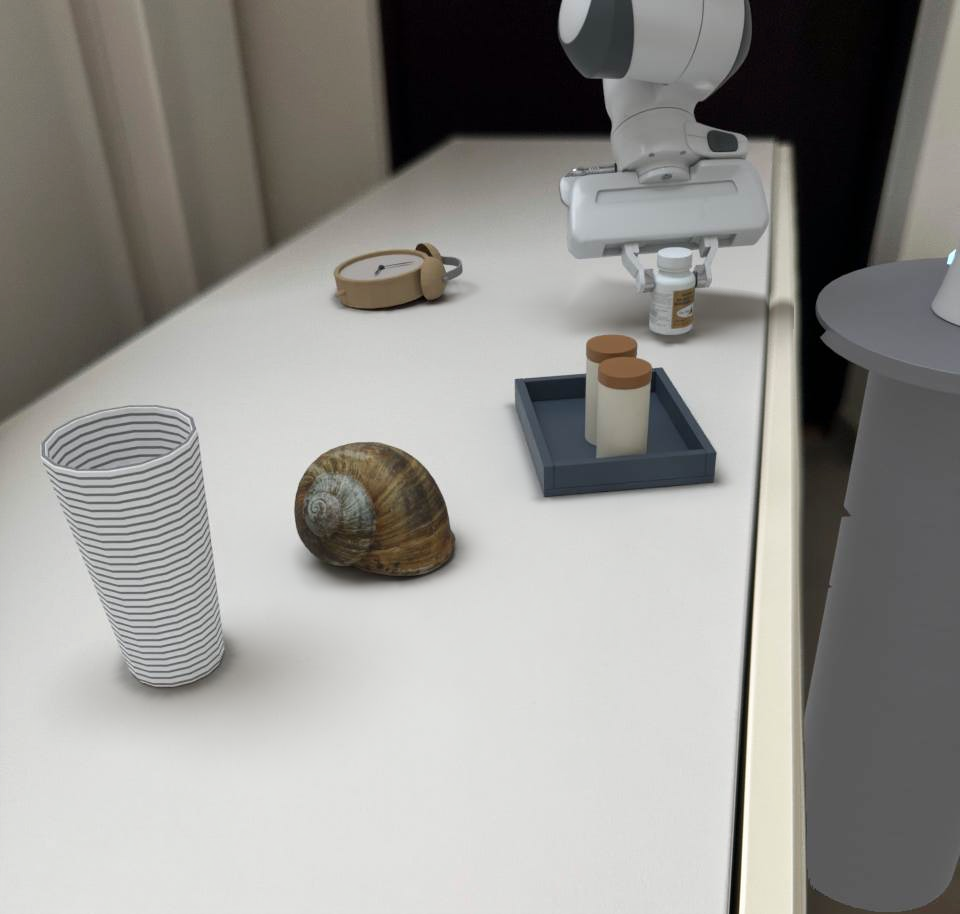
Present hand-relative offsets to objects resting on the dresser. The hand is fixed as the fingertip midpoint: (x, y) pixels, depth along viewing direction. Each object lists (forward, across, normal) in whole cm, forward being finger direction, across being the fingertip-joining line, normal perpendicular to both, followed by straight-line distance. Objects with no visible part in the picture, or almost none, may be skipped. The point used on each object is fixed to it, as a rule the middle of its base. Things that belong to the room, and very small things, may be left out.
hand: (675, 287), depth 106 cm
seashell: (+30, -31, -23) cm, 49 cm away
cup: (+38, -44, -31) cm, 66 cm away
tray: (+19, -11, -12) cm, 26 cm away
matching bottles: (+22, -11, -14) cm, 28 cm away
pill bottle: (+3, 0, +4) cm, 5 cm away
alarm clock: (-11, -27, +18) cm, 35 cm away
